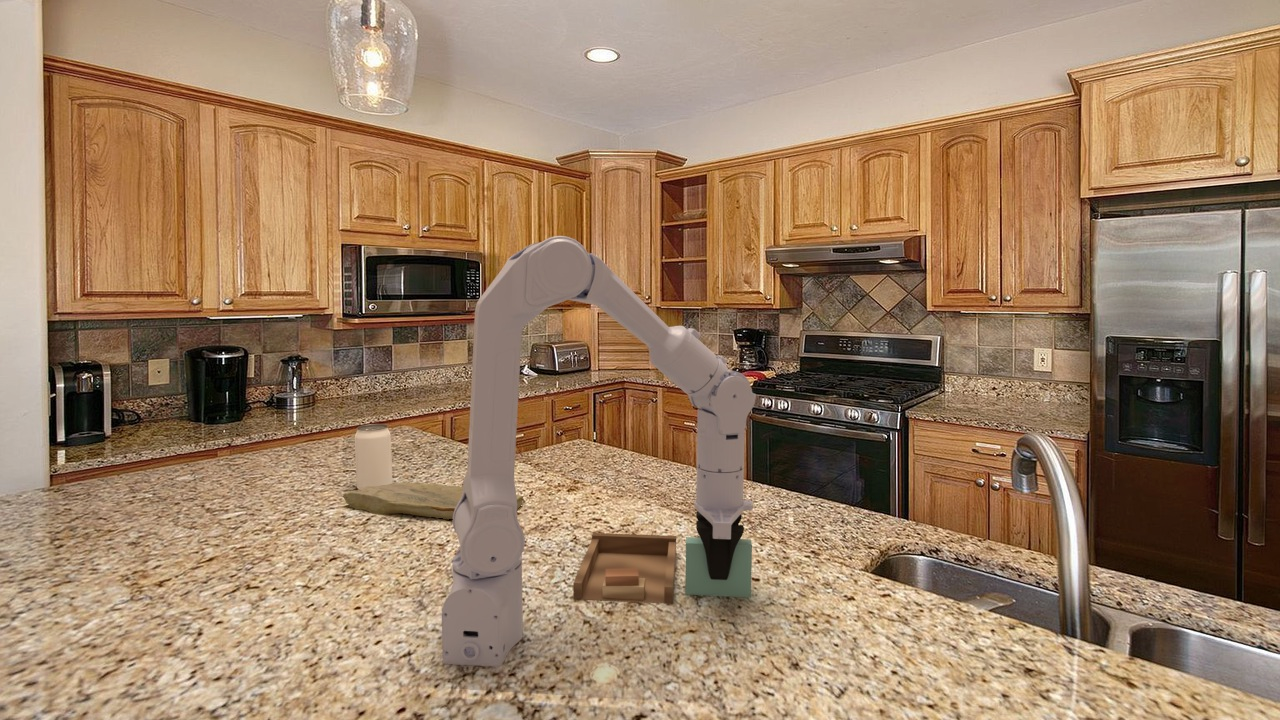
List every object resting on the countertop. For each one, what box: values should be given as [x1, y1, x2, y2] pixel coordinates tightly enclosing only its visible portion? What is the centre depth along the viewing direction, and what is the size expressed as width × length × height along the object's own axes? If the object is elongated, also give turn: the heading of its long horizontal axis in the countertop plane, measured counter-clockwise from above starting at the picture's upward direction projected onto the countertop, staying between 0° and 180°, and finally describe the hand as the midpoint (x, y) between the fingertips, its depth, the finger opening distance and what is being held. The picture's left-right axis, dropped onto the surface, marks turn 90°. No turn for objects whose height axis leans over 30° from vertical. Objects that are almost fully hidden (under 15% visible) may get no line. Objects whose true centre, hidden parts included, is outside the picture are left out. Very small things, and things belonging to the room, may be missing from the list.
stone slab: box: [343, 481, 524, 520], centre depth 112 cm, size 12×4×30 cm
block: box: [684, 536, 753, 598], centre depth 78 cm, size 2×8×7 cm, turn 85°
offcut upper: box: [606, 568, 639, 586], centre depth 77 cm, size 2×4×1 cm, turn 93°
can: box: [354, 423, 393, 490], centre depth 123 cm, size 6×6×12 cm
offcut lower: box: [603, 577, 645, 600], centre depth 78 cm, size 2×5×2 cm, turn 85°
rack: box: [572, 532, 677, 605], centre depth 83 cm, size 15×12×3 cm
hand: (718, 573), depth 78 cm, fingers closed on block, 2 cm apart
